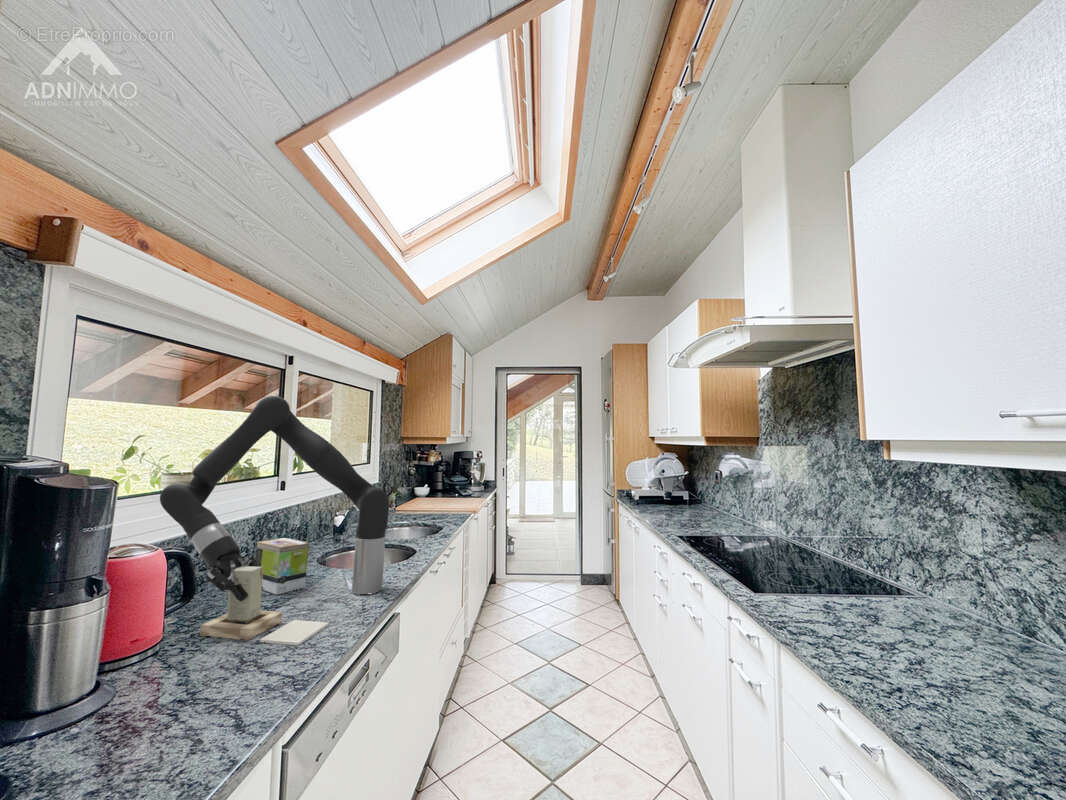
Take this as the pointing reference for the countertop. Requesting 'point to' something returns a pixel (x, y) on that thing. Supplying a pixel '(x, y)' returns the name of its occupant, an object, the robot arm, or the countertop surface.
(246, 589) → the skincare box
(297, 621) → the pad
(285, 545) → the tea box
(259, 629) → the frame
